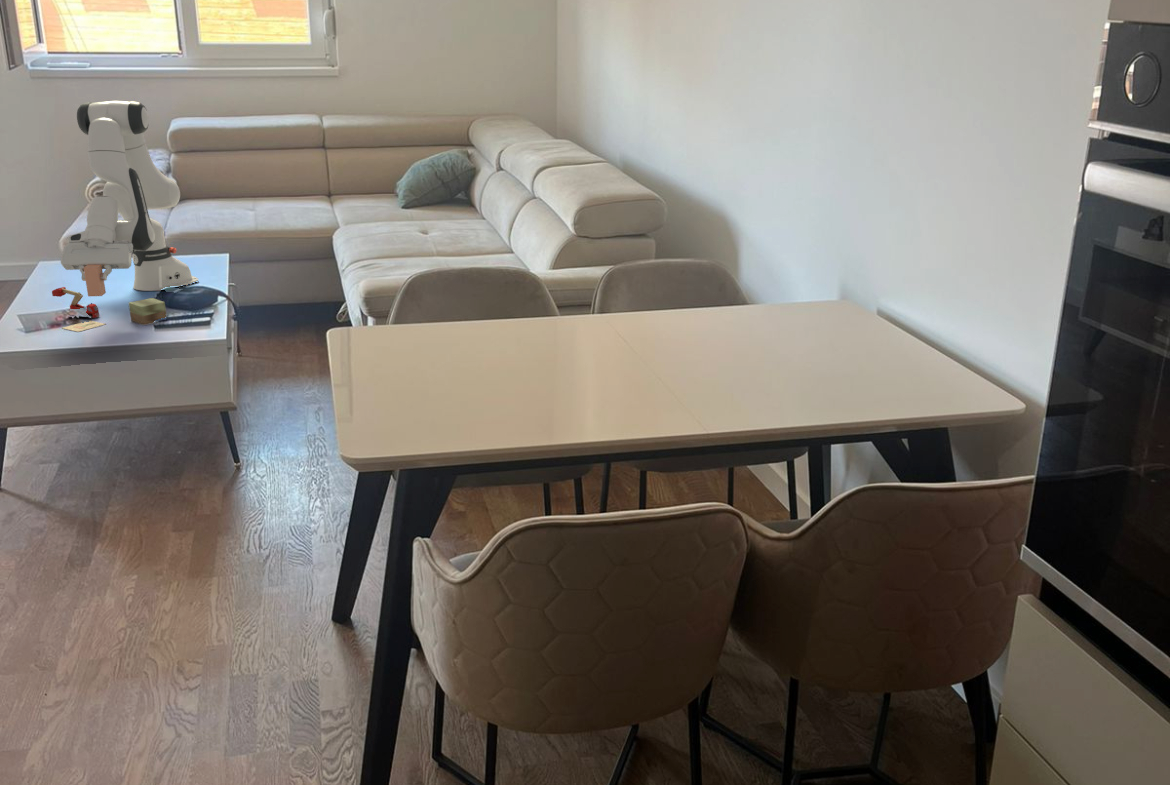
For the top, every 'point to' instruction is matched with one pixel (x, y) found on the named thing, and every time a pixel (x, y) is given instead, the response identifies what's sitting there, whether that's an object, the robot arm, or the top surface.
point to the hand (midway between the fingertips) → (93, 279)
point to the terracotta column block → (94, 280)
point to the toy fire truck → (91, 308)
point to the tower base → (147, 318)
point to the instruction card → (83, 326)
